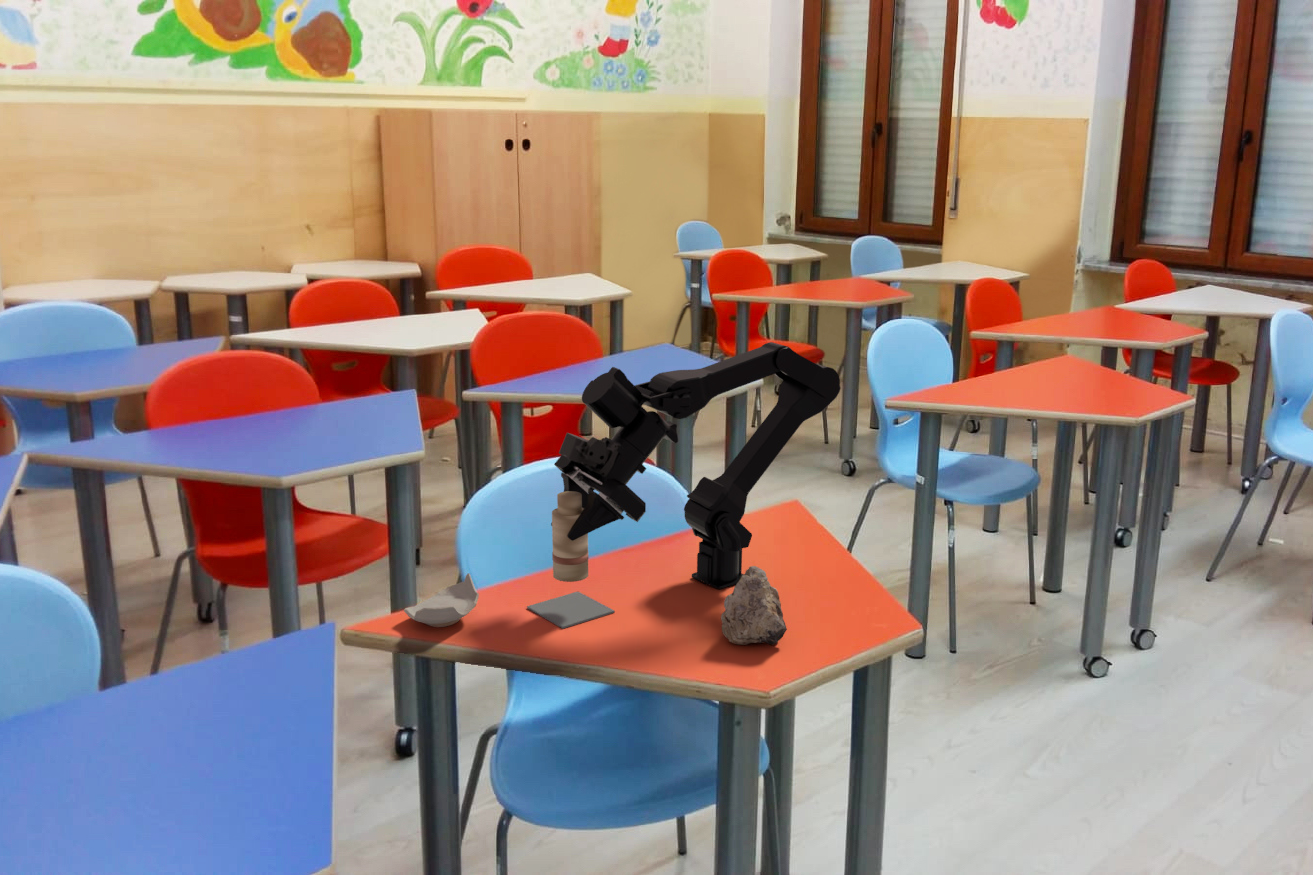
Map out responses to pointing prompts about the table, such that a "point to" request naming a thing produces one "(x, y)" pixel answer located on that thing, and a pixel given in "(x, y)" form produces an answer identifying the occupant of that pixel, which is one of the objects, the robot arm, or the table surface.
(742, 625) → the rock
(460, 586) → the pottery shard
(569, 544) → the skittle
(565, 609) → the mat
